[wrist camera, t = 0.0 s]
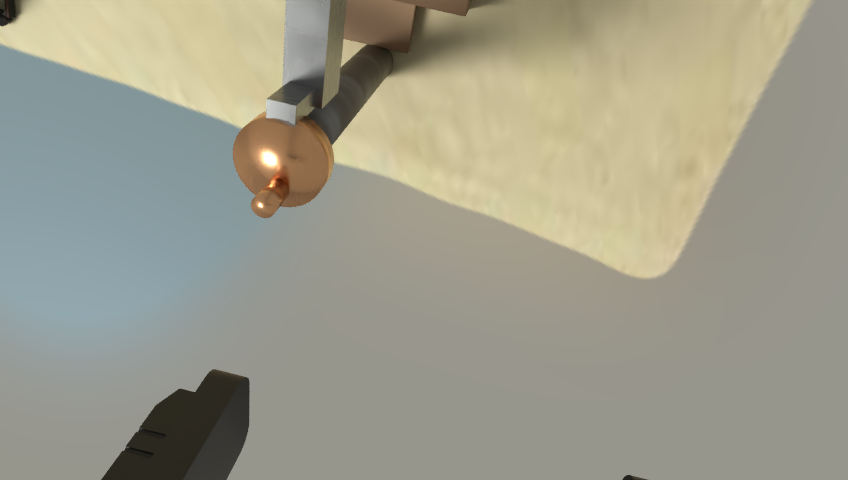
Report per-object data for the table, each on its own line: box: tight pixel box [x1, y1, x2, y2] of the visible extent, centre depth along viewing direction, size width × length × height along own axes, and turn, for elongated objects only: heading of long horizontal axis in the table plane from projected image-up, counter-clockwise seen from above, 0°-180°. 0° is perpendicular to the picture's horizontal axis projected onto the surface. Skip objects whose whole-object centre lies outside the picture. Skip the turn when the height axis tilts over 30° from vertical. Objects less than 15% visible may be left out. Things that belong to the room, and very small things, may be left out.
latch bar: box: [233, 0, 347, 218], centre depth 22 cm, size 15×4×7 cm, turn 170°
